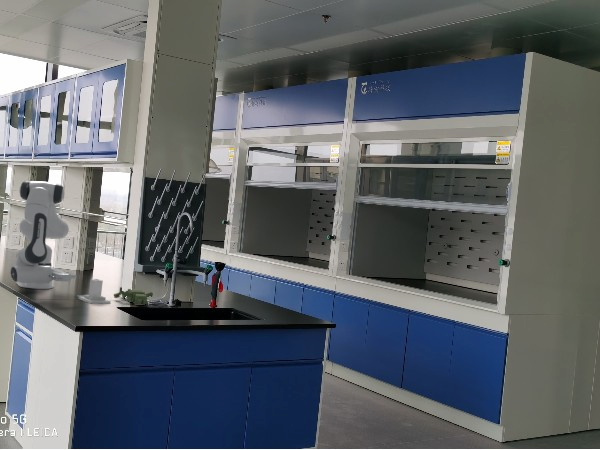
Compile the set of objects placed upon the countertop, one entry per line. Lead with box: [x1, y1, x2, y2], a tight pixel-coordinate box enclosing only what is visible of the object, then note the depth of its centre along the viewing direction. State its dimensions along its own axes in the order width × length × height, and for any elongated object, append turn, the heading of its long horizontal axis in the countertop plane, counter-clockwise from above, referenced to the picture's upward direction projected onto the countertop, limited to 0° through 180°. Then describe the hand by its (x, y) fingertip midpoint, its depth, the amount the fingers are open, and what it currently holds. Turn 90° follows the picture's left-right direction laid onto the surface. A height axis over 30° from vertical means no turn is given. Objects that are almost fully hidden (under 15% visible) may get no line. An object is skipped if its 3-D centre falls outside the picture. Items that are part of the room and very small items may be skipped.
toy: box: [113, 286, 154, 305], centre depth 372 cm, size 21×8×30 cm
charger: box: [88, 278, 104, 297], centre depth 358 cm, size 4×4×10 cm
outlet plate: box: [78, 294, 111, 304], centre depth 358 cm, size 14×11×3 cm
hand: (71, 274), depth 349 cm, fingers open, 8 cm apart
